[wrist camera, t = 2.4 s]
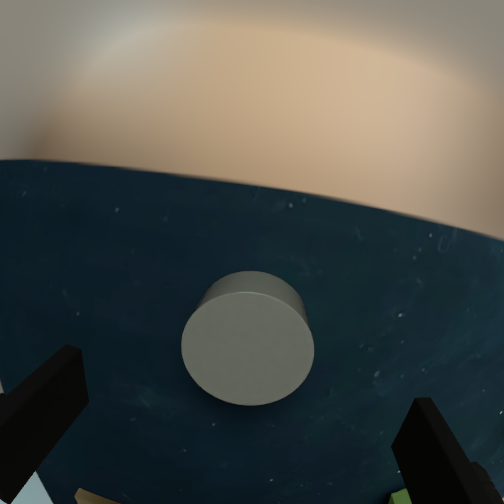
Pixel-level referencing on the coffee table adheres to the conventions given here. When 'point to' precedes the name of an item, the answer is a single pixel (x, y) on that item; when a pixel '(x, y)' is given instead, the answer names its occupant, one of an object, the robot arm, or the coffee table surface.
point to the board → (91, 498)
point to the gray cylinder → (248, 339)
